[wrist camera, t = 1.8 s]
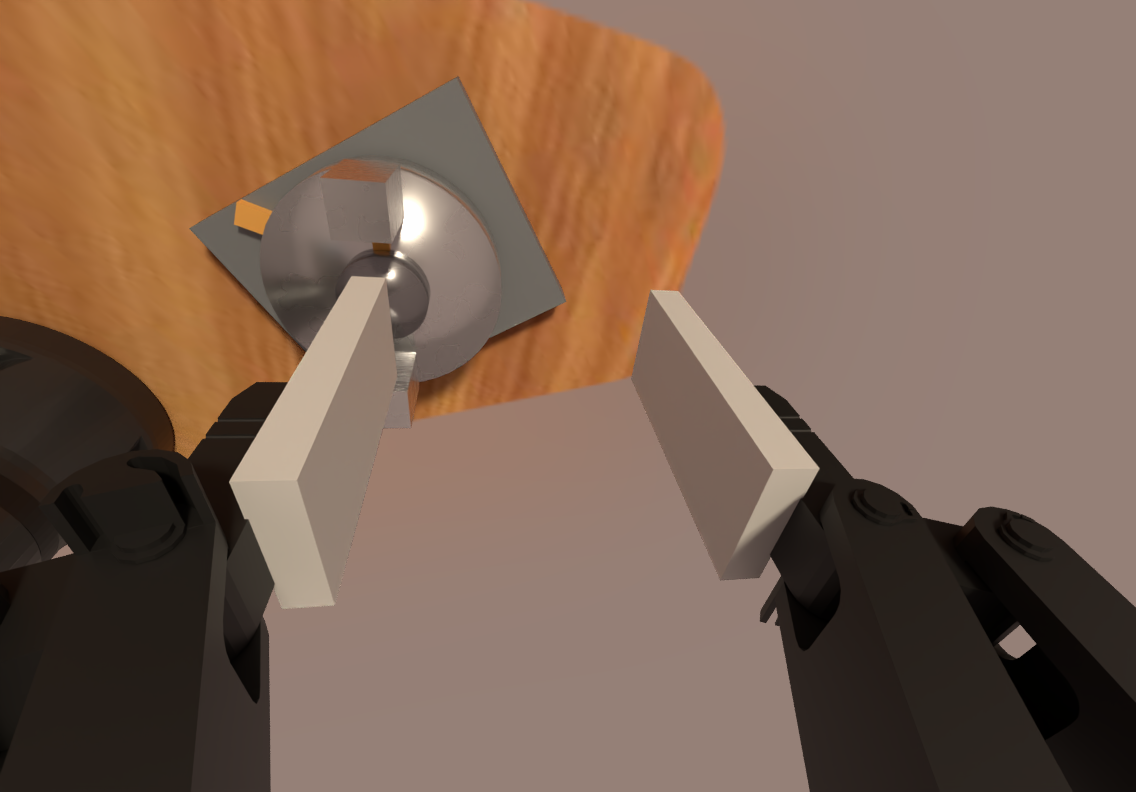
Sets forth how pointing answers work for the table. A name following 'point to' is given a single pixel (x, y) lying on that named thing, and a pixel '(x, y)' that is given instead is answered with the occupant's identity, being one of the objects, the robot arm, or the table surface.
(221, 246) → the gray square base plate
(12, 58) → the table surface
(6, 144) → the table surface
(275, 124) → the table surface
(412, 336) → the silver metal dome
